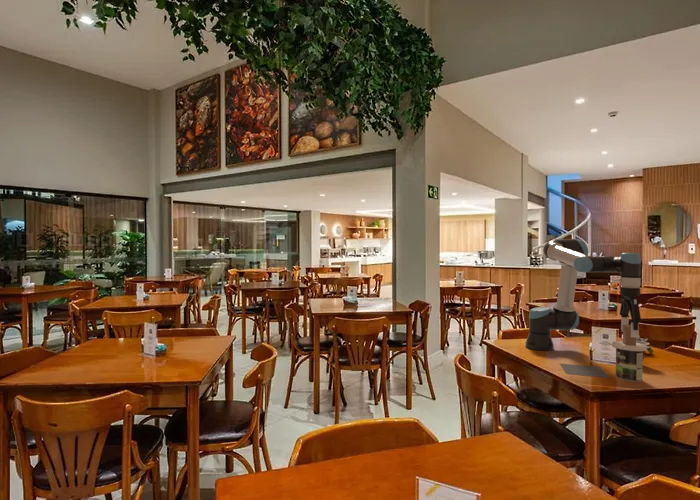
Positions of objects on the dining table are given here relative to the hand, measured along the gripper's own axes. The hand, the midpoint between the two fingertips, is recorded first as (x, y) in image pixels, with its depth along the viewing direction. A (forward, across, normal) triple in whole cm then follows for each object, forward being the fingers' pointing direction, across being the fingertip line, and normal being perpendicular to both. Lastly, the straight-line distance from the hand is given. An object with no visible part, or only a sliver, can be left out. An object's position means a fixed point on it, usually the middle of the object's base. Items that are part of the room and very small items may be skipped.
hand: (629, 334), depth 186 cm
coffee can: (+20, 0, 0) cm, 20 cm away
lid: (+6, 0, 0) cm, 6 cm away
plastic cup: (+20, -28, +11) cm, 36 cm away
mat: (+20, -6, -17) cm, 27 cm away
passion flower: (+20, -56, +21) cm, 63 cm away
